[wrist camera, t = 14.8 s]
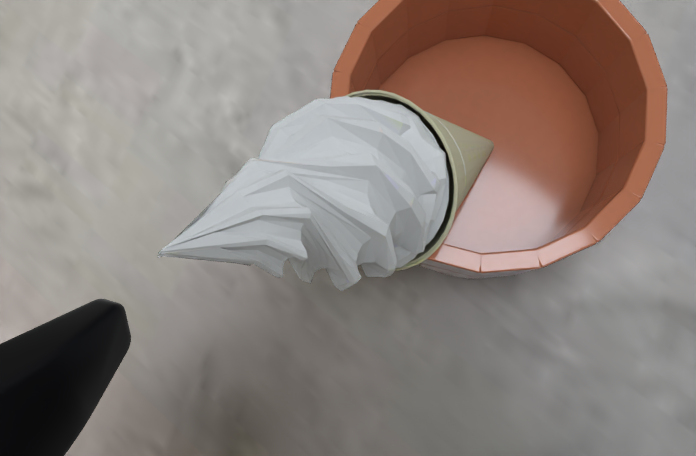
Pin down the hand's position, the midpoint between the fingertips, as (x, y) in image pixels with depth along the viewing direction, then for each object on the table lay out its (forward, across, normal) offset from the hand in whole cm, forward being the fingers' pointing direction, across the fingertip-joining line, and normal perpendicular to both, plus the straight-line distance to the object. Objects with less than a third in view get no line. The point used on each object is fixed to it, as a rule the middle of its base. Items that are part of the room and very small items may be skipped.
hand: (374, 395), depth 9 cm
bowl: (+15, 0, +3) cm, 16 cm away
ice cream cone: (+15, -1, +3) cm, 15 cm away
